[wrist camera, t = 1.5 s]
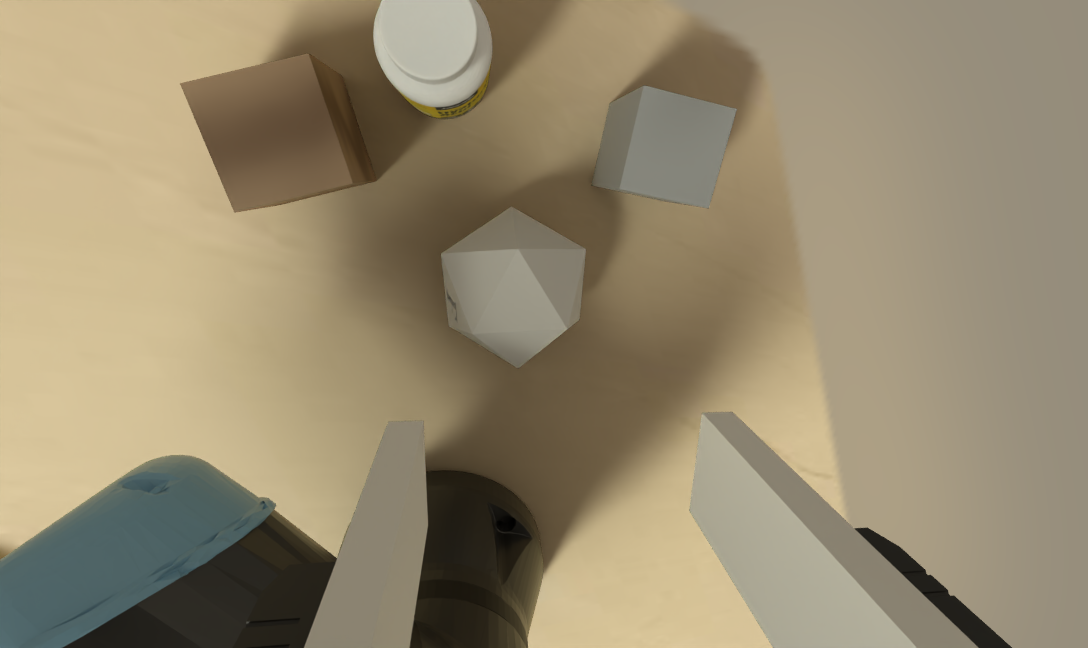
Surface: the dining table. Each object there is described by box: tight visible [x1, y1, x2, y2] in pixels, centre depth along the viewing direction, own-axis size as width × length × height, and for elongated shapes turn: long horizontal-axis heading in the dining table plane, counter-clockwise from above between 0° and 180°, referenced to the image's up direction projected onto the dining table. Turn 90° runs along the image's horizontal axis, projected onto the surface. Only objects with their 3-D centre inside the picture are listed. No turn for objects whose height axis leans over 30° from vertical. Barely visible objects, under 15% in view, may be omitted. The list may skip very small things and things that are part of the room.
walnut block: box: [180, 53, 376, 212], centre depth 27 cm, size 6×6×6 cm
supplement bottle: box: [373, 0, 492, 119], centre depth 25 cm, size 5×5×10 cm
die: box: [441, 206, 586, 368], centre depth 30 cm, size 8×9×10 cm
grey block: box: [591, 85, 737, 208], centre depth 29 cm, size 5×5×7 cm
